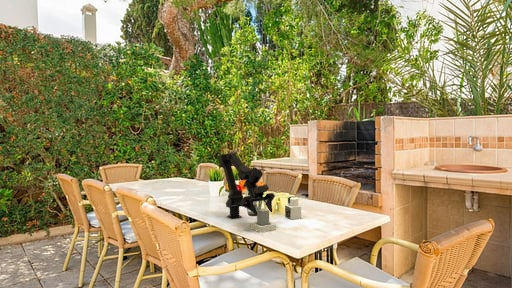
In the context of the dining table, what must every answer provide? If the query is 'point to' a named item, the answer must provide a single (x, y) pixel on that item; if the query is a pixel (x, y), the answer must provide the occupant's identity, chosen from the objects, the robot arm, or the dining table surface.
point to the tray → (263, 227)
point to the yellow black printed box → (293, 208)
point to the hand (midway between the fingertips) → (264, 213)
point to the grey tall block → (262, 217)
